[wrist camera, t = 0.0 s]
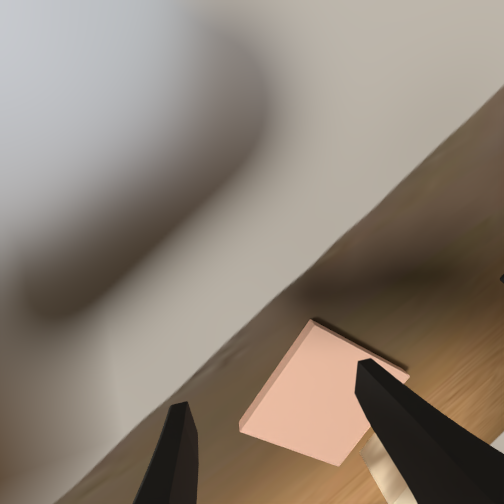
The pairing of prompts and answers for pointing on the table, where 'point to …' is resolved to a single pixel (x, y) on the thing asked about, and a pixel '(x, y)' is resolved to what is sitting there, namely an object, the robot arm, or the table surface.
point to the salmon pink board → (314, 397)
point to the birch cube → (386, 473)
